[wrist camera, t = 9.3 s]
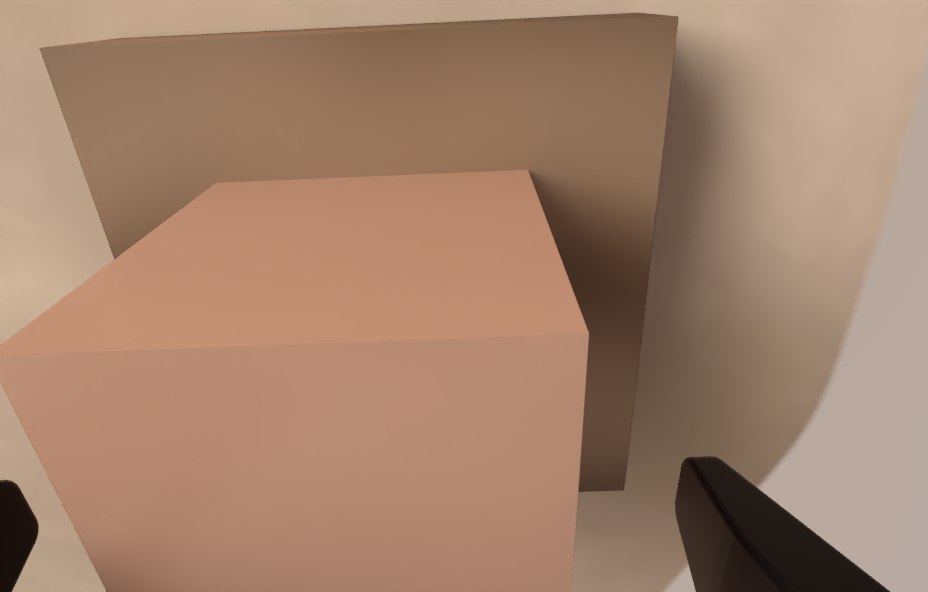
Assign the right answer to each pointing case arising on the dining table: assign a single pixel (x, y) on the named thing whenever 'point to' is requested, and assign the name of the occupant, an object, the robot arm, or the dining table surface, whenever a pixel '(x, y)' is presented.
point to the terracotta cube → (319, 392)
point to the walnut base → (406, 142)
